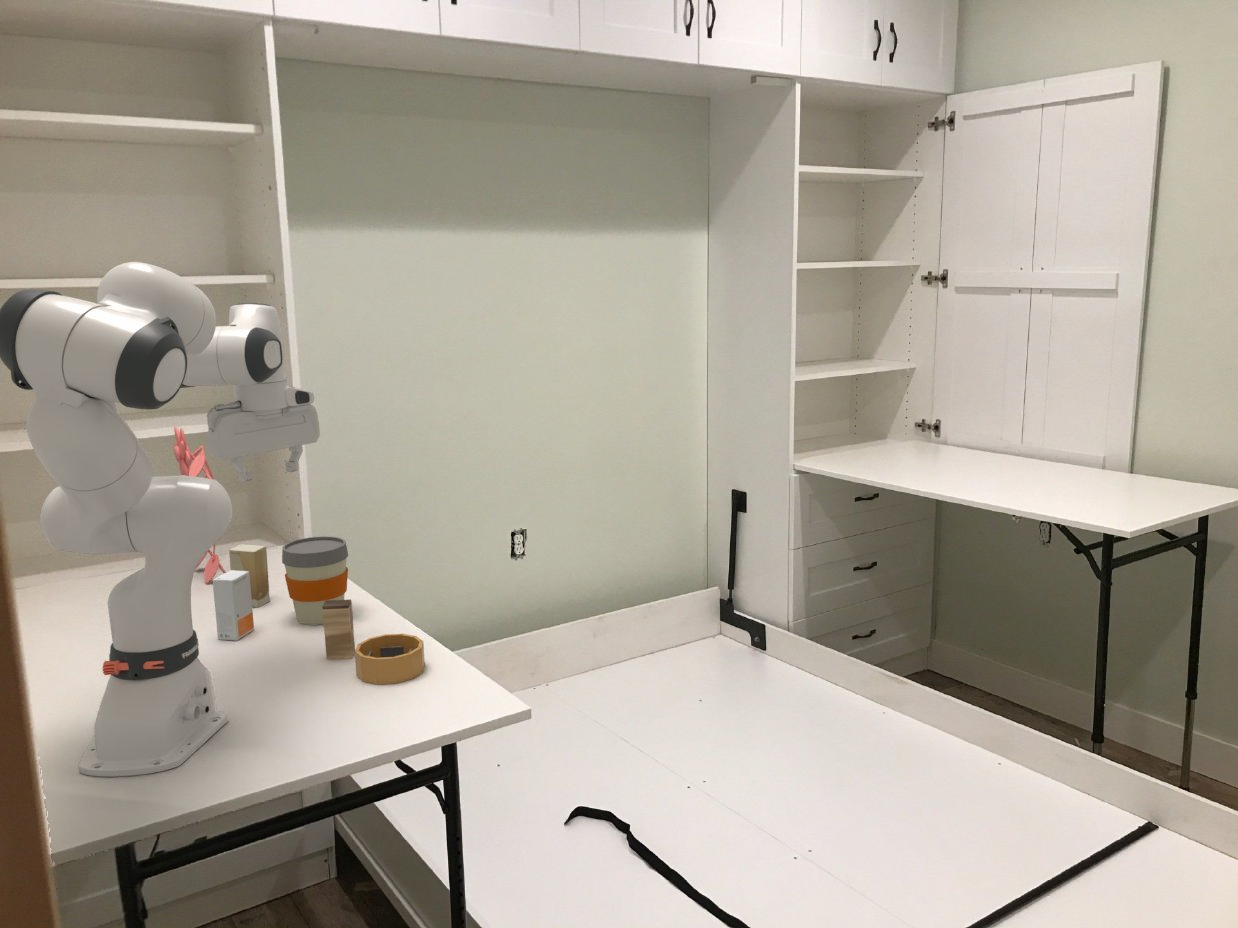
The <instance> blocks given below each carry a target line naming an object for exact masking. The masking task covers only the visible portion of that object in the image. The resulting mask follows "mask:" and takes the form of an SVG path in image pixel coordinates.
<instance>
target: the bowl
mask: <svg viewBox="0 0 1238 928" xmlns="http://www.w3.org/2000/svg"><path fill="white" fill-rule="evenodd" d="M394 646H404V654H403V655H399V656H395V657H382V658H381V654H380V647H394ZM424 647H425V646H424V640H422V638H420V637H418V636H417V635H413V634H409V633H408V634H406V633H388V634H386V633H385V634H382V635H378V636H374V637H373V636H372V637H369V638H367V639H365V640H363V641H361V642H360V643H357V646H355V653H354V659H355V672H356V677H358V679H359V680H361V681H362V682H365V683H369V684H373V685H392V684H398V683H403V682H406V681H410V680H412V679H414V678H416V677H417V676H419V675H421V674H422V673H423V672H424V669H425V667H426V666H425V665H426V663H425V648H424ZM410 648H412V651H411V652H409V650H410ZM370 650H372V656H373V657H370V656H368V653H369V651H370Z"/></svg>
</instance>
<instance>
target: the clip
mask: <svg viewBox="0 0 1238 928" xmlns="http://www.w3.org/2000/svg"><path fill="white" fill-rule="evenodd" d="M411 651H412V648H410V650H409V652H411ZM380 654H381V658H382V657H395V656H399V655H403V654H404V646H394V647H380ZM368 656H370V657H373V656H372V650H370V651H369V653H368Z"/></svg>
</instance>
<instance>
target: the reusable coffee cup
mask: <svg viewBox="0 0 1238 928" xmlns="http://www.w3.org/2000/svg"><path fill="white" fill-rule="evenodd" d="M347 546H348V545H347V542H346V540H345V539H344V538H341V537H337V536H328V535H327V536H324V535H323V536H312V537H303V538H299V539H296V540H293V541H292V540H291V541H289V542H287V543H285V544H284V545H283V546H282V548H281V550H282V552H281V553H282V555H281V561H282V564H283V565H284V568H285V575H284V578H285V582H286V587H287V591H288V596H289V598H290V599H291V600H292V602H293V607H294V612H295V616H296V620H297V622H298V623H299V624H302V625H309V626H310V625H313V626H314V625H315V626H316V625H324V621H323V609H322V606H323V604H324V603H325V601H328V600H345V593H346V592H347V591H348V574H349V569H348V567H347V558H348V556H349V553H348V547H347Z"/></svg>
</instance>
